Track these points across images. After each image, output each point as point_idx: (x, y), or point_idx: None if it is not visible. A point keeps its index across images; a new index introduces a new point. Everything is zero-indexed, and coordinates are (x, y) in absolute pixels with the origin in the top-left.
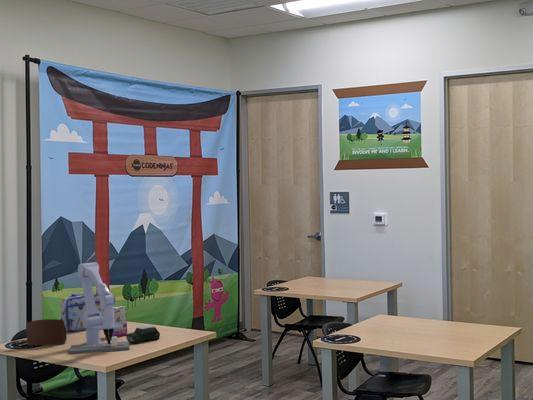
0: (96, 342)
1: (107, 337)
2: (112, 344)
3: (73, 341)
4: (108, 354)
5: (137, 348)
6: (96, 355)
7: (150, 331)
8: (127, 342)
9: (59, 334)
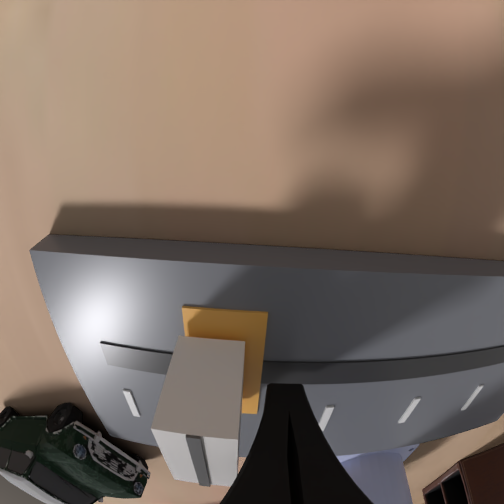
0: (354, 468)
1: (316, 462)
2: (236, 355)
3: (412, 485)
4: (313, 41)
5: (3, 264)
6: (465, 74)
7: (8, 452)
8: (110, 418)
9: (483, 488)
